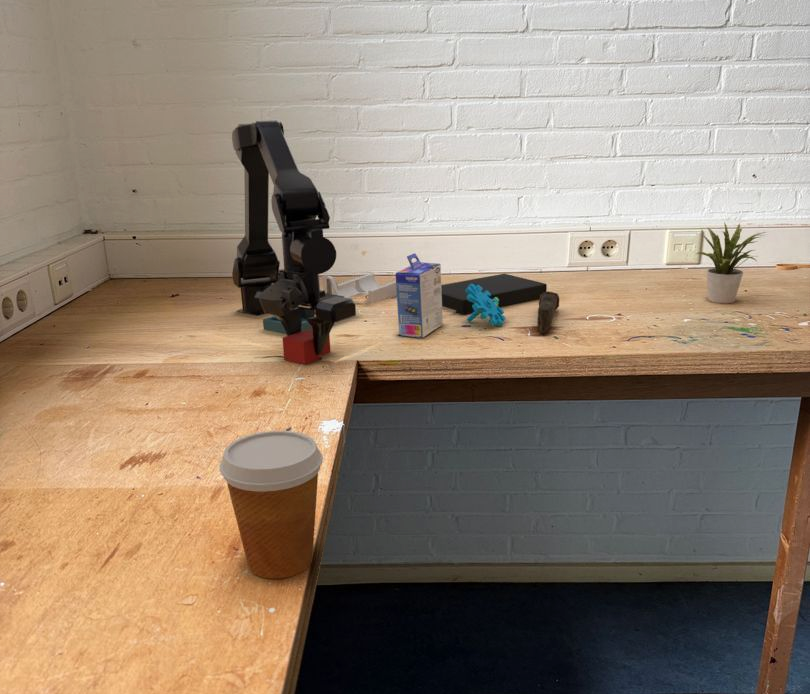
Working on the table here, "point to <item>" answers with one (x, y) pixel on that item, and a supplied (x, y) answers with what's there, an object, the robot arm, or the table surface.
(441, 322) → the ink cartridge box
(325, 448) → the table surface
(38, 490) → the table surface
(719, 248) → the house plant
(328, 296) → the dark grey block
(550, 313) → the hand tool
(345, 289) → the skate ramp
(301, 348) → the red rectangular block
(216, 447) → the table surface
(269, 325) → the tray
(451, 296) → the external hard drive
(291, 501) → the disposable coffee cup
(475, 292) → the blue coral piece
